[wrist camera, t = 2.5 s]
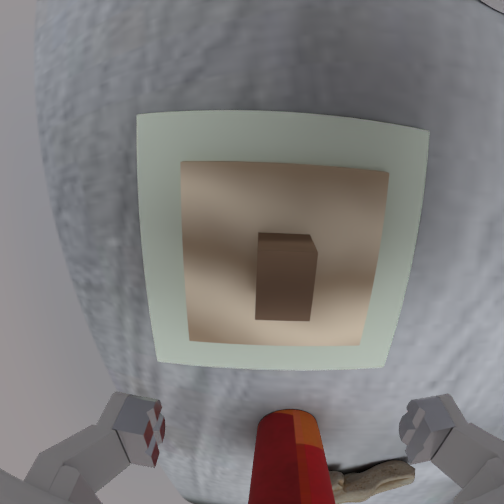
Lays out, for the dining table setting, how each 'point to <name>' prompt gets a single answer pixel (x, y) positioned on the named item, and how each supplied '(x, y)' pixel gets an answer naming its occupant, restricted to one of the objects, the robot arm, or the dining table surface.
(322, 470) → the paper cup
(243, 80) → the dining table surface
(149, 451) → the robot arm
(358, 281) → the lid
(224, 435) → the dining table surface
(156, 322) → the mat
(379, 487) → the sculpture
